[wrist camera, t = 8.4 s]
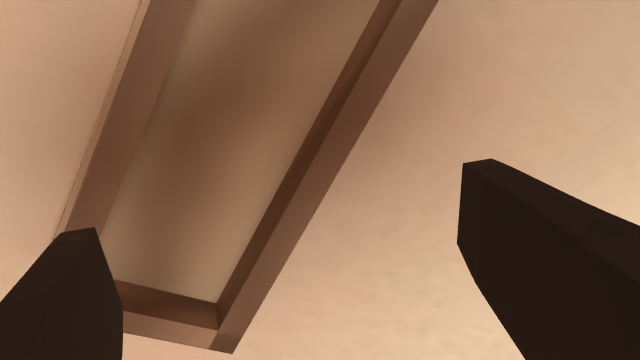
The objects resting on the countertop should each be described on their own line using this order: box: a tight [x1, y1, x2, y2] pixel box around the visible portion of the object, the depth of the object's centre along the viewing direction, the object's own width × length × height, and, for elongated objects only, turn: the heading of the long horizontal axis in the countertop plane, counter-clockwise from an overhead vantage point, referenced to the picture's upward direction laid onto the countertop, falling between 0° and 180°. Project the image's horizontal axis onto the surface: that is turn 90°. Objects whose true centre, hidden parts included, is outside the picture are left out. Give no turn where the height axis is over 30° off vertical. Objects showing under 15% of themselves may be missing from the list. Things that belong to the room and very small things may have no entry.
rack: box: [54, 0, 438, 354], centre depth 18 cm, size 8×20×2 cm, turn 152°
